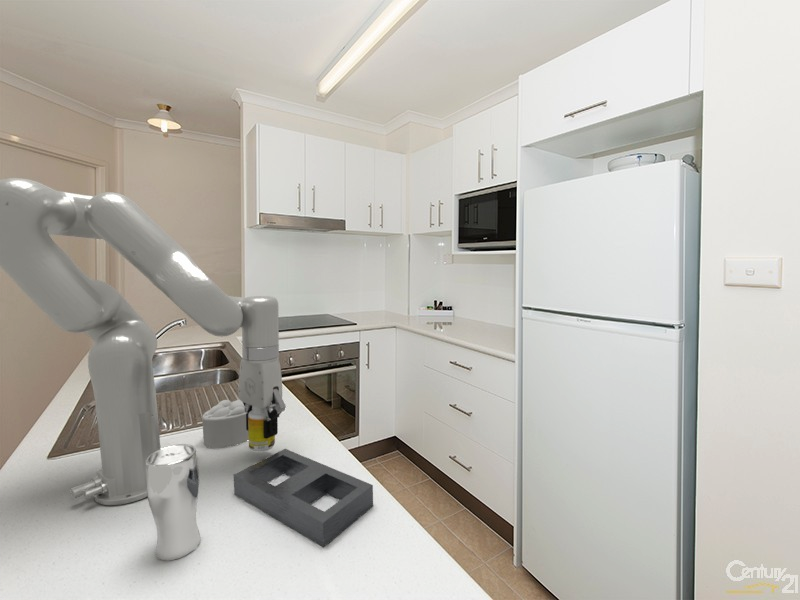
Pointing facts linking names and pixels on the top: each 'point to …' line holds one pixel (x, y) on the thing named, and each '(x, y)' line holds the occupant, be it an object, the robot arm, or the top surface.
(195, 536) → the beer glass
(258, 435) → the supplement bottle
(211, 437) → the lumpy-topped squat cylinder
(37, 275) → the robot arm
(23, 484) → the top surface
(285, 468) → the cinder block
